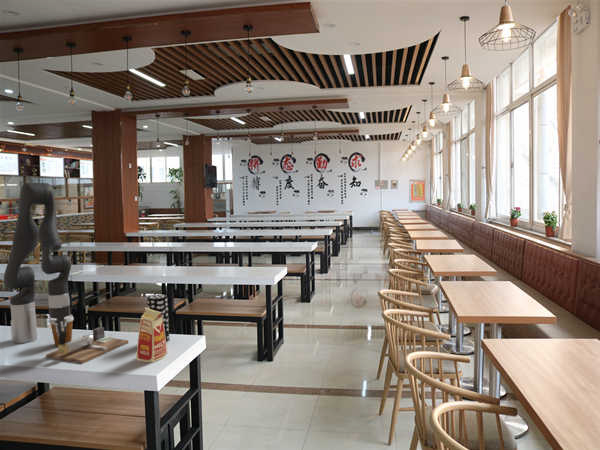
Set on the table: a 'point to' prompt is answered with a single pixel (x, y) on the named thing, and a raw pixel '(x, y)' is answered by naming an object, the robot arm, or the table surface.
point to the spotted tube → (160, 309)
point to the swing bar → (76, 344)
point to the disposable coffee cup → (68, 330)
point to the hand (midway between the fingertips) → (62, 346)
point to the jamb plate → (90, 348)
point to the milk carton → (151, 337)
